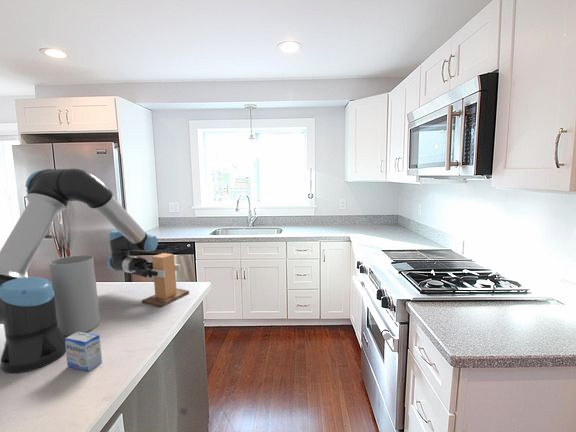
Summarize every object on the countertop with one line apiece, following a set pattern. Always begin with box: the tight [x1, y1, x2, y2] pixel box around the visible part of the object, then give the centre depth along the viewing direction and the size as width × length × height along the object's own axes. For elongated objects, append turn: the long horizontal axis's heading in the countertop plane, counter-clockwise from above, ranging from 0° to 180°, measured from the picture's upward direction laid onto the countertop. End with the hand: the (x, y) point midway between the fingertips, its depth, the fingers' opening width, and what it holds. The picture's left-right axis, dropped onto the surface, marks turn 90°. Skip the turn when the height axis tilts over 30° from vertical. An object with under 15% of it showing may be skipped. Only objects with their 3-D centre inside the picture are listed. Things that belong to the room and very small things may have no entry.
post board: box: [141, 287, 190, 308], centre depth 131 cm, size 16×11×8 cm
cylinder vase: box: [48, 254, 101, 337], centre depth 105 cm, size 12×12×25 cm
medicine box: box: [65, 332, 103, 372], centre depth 84 cm, size 8×4×9 cm, turn 73°
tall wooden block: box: [151, 252, 177, 299], centre depth 131 cm, size 6×6×18 cm
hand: (172, 270), depth 128 cm, fingers open, 8 cm apart
